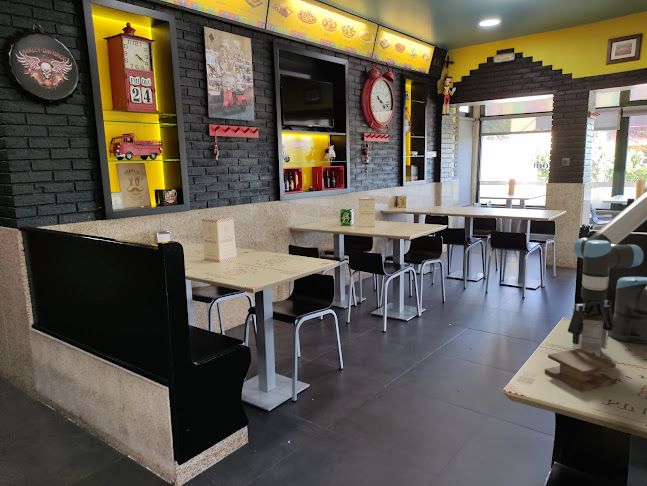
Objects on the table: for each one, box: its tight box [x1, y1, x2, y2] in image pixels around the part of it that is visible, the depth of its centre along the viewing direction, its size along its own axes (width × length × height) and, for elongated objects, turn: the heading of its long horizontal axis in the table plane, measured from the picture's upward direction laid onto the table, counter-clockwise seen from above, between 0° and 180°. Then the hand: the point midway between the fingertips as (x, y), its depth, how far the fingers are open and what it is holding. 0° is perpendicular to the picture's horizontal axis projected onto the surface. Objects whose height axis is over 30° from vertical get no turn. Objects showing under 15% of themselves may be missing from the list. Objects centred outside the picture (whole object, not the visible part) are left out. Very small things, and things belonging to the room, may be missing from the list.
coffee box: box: [580, 313, 604, 358], centre depth 155 cm, size 9×6×16 cm
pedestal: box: [544, 349, 618, 393], centre depth 143 cm, size 14×14×6 cm
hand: (589, 350), depth 156 cm, fingers closed on coffee box, 11 cm apart
